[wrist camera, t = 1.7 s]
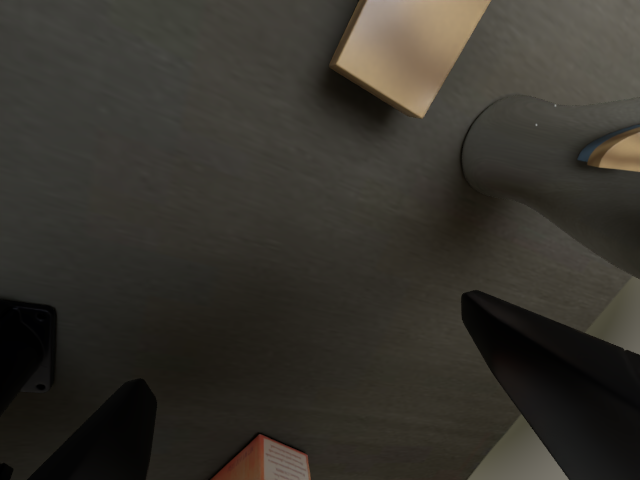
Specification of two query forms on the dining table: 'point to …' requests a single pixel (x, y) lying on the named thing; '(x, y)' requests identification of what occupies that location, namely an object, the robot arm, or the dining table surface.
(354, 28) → the scrub brush
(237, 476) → the cracker box
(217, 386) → the dining table surface
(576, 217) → the beer glass
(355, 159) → the dining table surface
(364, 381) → the dining table surface
